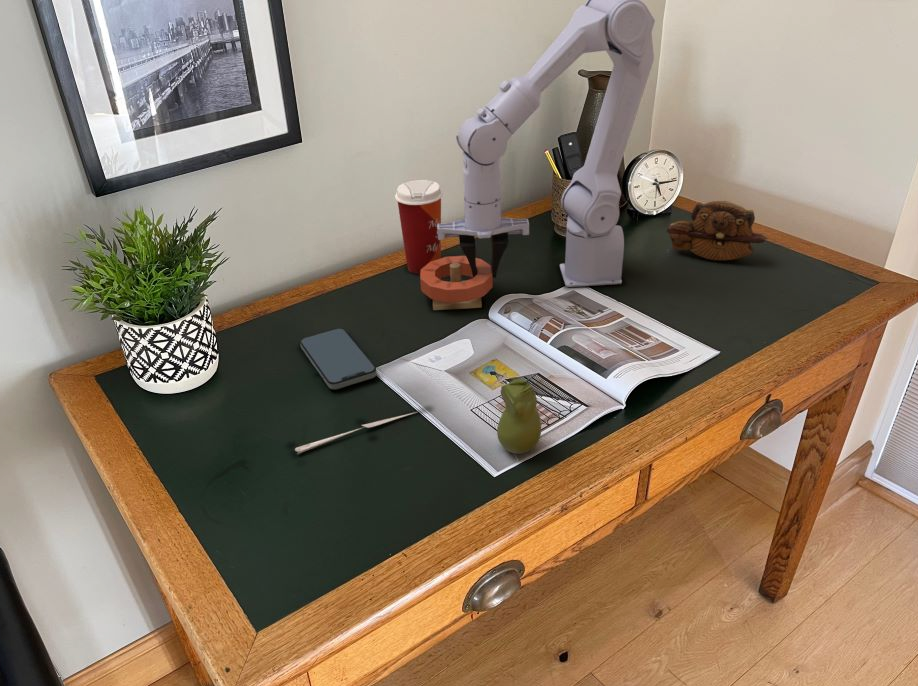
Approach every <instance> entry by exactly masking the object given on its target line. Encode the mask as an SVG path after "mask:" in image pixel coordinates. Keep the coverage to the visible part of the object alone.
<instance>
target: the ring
mask: <svg viewBox="0 0 918 686" xmlns="http://www.w3.org/2000/svg"><path fill="white" fill-rule="evenodd" d="M452 263H459V264H460V265H461V276H466V277H470V279H466V280H467V281H464V282H446V281H447V280H442V279H443V278H447V277H450V264H452ZM476 269H477V275H476V276H475V277H474V278H473V275H472V270H471V267H470V264H469V262H468V259H467V257H466V255H455V256H453V255H451V256H444V257H441V259H438V260H434V261H431V262H429V263H428V264H427V265H426V266H425V267H423V268H422V269H421V274H419V276H420V279H419V280H420V291H421V293H422V294H424V295H425V296H427V297H428V298H429V299H431V300H433V299H434V300H438V301H443V302H447V303H451V302H467V301H471V300H473V299H476V298H479V297H481V298H482V297H485V295H487V294H488V293H489V292H490V291H491V290H492V289H493V287H494V286H493V284H494V282H493V279H494V278H493V277H492V270H491V264H489V263H487V262H486V261H485V260H483V259H481V258H477V257H476Z"/></svg>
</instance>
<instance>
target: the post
mask: <svg viewBox="0 0 918 686" xmlns="http://www.w3.org/2000/svg"><path fill="white" fill-rule="evenodd" d="M449 277H450V278H449V279H450V280H449V281H448V280H445V281H446V282H464V281H467V280H468V279H465V280H462V275H461V265H460V264H459V263H452V264H450V276H449ZM481 308H483V303H482V297H479V298H476V299H473V300H471V301H467V302H451V303H447V302H443V301H438V300H434V299H432V310H433V311H445V310H463V309H464V310H465V309H481Z"/></svg>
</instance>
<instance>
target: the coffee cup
mask: <svg viewBox="0 0 918 686" xmlns="http://www.w3.org/2000/svg"><path fill="white" fill-rule="evenodd" d="M443 196H444V192H443V191H442V189H441V186H440V184H439V183H438V182H436V181H433V180H428V179H415V180H414V179H413V180H410V181H406V182H403V183H400V185H399V186H397V188H396V193H395V195H394V198H395V200H396V201H397V207H398V214H399V220H400V228H401V234H402V241H403V247H404V253H405V254H404V255H405V260H406V265H407V270H408V271H409V272H410V273H412V274H414V275H415V274H416V275H420V274H421V269H422V268H423V267H425V266H426V265H427V264H428V263H429V262H431V261H434V260H438V259H441V258H442V240H438V229H437V224H442V198H443Z"/></svg>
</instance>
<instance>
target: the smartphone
mask: <svg viewBox="0 0 918 686" xmlns="http://www.w3.org/2000/svg"><path fill="white" fill-rule="evenodd" d="M299 345H300V348H301V350H302V351H303V353H304V354H305V356H306V357H307V358H308V360H309V361H310V363H311V365H312V366H313V367H314V368H315V370H316V372H317V373H318V374H319V376H320V377H321V379H322V380H323V381H324V383H325V384H326V386H327V388H329V389H330V390H339V389H342V388H345V387H348V386H352V385H355V384H358V383H361V382H364V381H368V380H371V379H373V378H375V377H377V375H378V372H377V371H378V370H377V367H376V366H375V365H374V364H373V362H372V361H371V360H370V358H369V357H368V356H367V355H366V354H365V353H364V351H363V350H362V349H361V348H360V347H359V345H358V344H357V343H356V342H355V341H354V340H353V338H352V337H351V336H350V334H349V333H348V331H346V330H345V329H342V328H336V329H332V330H328V331H325V332H321V333H318V334H315V335H314V334H313V335H311V336H307V337H304V338H303V339H301V340H300V341H299Z"/></svg>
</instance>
